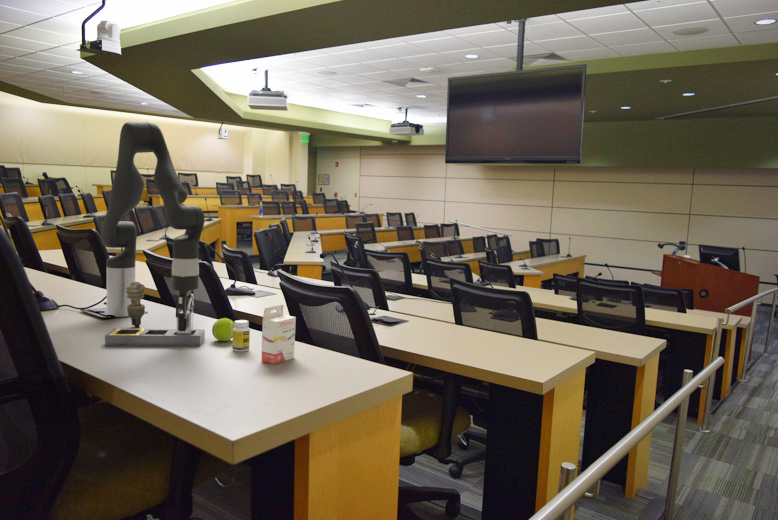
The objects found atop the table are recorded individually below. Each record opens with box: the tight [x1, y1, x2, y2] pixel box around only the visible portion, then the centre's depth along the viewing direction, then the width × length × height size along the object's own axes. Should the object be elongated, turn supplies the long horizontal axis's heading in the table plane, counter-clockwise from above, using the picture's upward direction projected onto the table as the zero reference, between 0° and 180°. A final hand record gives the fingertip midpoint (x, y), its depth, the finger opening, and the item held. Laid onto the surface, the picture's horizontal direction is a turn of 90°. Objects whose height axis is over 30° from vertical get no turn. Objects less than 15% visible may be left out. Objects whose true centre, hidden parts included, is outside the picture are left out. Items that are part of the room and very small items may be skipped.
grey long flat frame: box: [104, 328, 206, 347], centre depth 165 cm, size 8×26×3 cm, turn 99°
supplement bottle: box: [232, 319, 251, 353], centre depth 161 cm, size 5×5×8 cm
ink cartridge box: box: [261, 304, 297, 365], centre depth 152 cm, size 9×5×15 cm, turn 152°
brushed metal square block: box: [176, 311, 194, 335], centre depth 166 cm, size 4×4×9 cm
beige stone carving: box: [126, 281, 146, 328], centre depth 181 cm, size 6×6×15 cm
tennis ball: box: [211, 317, 235, 342], centre depth 170 cm, size 7×7×7 cm
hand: (185, 327), depth 166 cm, fingers open, 7 cm apart
